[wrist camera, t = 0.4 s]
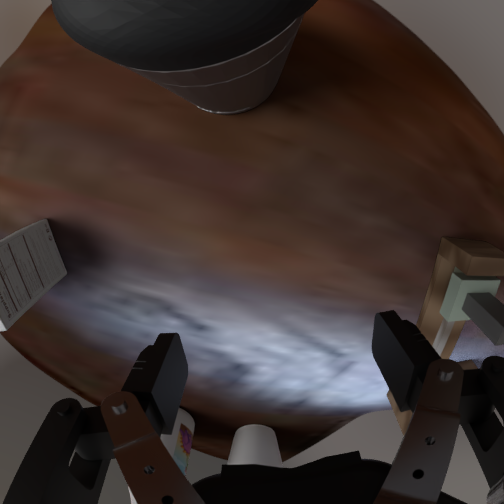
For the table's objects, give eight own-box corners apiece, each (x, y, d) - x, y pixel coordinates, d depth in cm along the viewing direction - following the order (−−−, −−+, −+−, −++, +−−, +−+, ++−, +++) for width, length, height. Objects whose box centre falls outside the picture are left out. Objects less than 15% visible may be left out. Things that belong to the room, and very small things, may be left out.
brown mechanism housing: (441, 236, 28) (483, 264, 21) (514, 245, 28) (551, 267, 21) (386, 394, 37) (403, 435, 29) (458, 381, 37) (479, 413, 30)
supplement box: (33, 283, 31) (-25, 335, 19) (13, 232, 29) (-54, 271, 17) (70, 274, 30) (7, 333, 19) (48, 216, 28) (-28, 257, 16)
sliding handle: (444, 266, 28) (501, 314, 18) (483, 267, 28) (537, 309, 18) (432, 305, 30) (479, 360, 20) (471, 303, 30) (518, 350, 20)
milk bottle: (142, 419, 40) (110, 523, 21) (151, 394, 37) (113, 515, 18) (187, 436, 41) (168, 541, 22) (202, 413, 38) (182, 535, 19)
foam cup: (294, 440, 41) (300, 507, 29) (244, 453, 42) (241, 516, 30) (268, 411, 38) (271, 490, 26) (213, 427, 39) (204, 498, 27)
